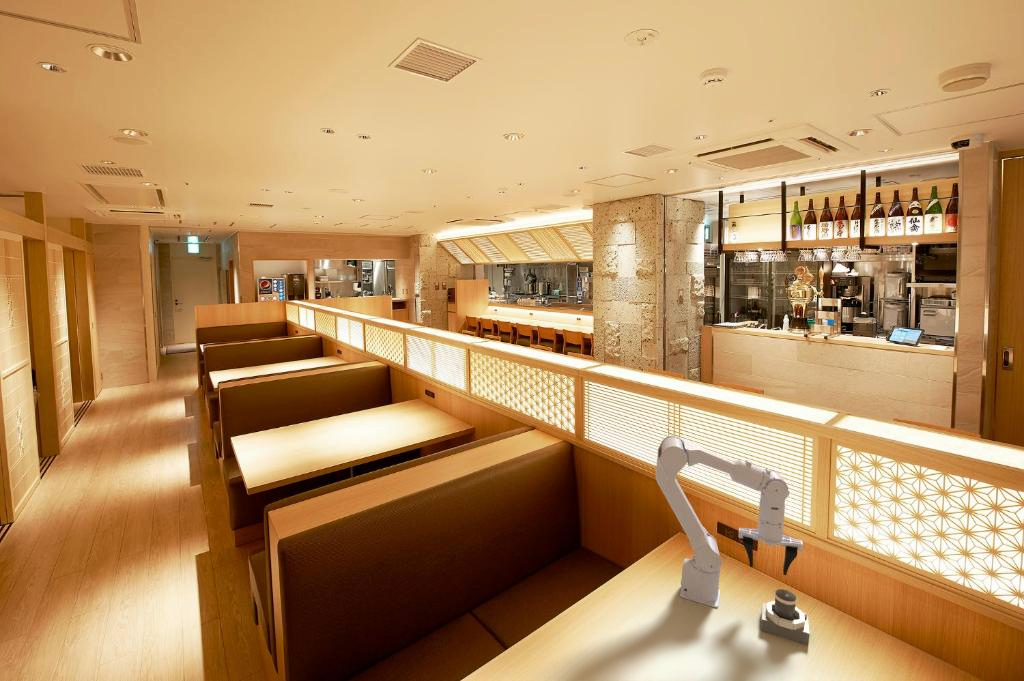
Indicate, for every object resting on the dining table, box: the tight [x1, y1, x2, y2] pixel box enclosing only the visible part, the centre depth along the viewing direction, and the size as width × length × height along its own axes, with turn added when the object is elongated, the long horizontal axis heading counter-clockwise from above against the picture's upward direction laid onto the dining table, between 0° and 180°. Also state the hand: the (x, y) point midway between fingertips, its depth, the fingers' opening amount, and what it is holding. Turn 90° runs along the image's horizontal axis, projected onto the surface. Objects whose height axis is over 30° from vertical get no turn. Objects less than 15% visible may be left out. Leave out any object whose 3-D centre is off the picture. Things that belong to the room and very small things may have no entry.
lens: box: [774, 589, 798, 621], centre depth 120 cm, size 5×5×6 cm
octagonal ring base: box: [760, 600, 810, 646], centre depth 121 cm, size 10×8×4 cm
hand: (767, 568), depth 128 cm, fingers open, 7 cm apart
